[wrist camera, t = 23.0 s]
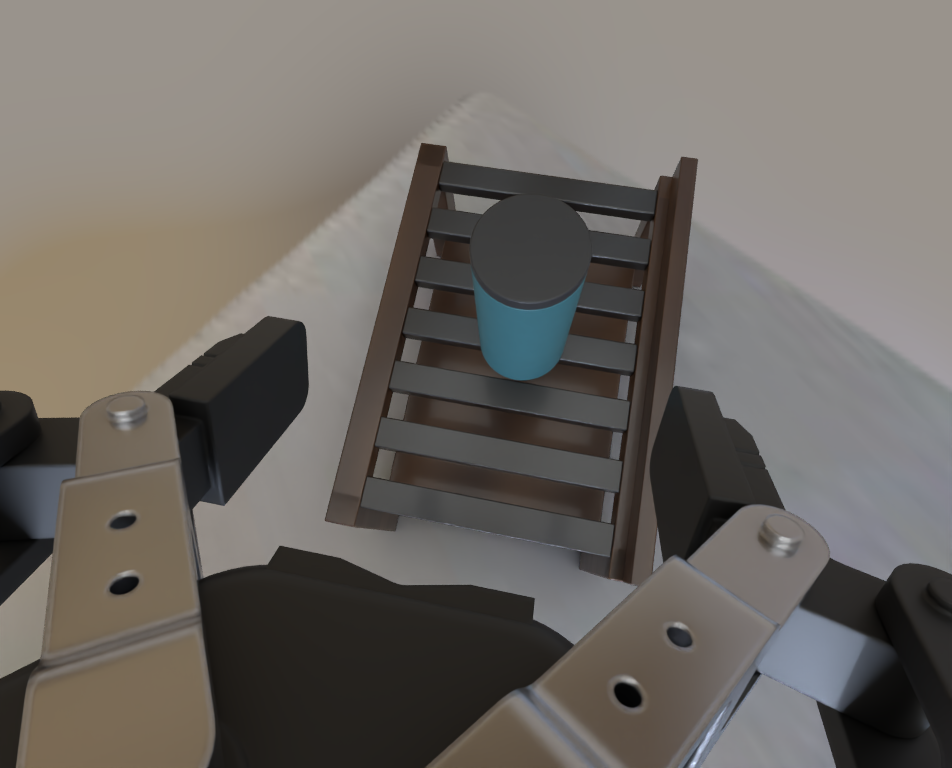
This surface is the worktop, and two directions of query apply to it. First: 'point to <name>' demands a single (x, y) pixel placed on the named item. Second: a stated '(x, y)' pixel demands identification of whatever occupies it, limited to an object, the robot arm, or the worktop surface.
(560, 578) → the worktop surface
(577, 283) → the teal canister
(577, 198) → the rack
